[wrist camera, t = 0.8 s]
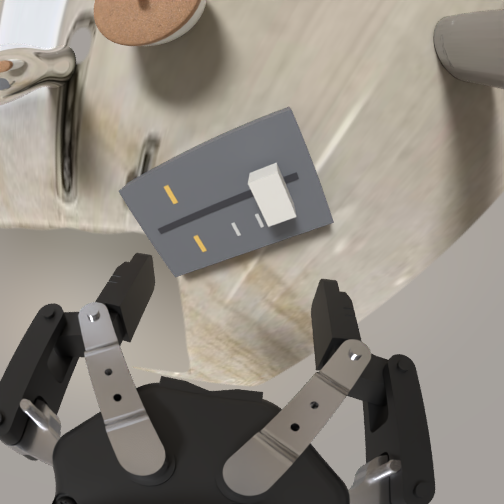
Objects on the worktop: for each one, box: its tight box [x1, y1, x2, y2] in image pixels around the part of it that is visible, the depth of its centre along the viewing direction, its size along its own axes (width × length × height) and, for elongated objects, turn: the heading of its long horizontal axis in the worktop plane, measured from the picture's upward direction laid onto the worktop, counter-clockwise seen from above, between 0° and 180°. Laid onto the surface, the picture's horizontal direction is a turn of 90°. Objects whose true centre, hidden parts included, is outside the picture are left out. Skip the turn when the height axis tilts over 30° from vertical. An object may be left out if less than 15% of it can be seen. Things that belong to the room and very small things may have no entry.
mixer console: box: [119, 107, 334, 277], centre depth 34 cm, size 22×14×3 cm, turn 114°
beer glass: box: [0, 43, 76, 105], centre depth 19 cm, size 7×7×15 cm
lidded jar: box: [94, 0, 206, 46], centre depth 19 cm, size 11×11×9 cm
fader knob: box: [248, 163, 296, 227], centre depth 30 cm, size 3×5×4 cm, turn 24°
